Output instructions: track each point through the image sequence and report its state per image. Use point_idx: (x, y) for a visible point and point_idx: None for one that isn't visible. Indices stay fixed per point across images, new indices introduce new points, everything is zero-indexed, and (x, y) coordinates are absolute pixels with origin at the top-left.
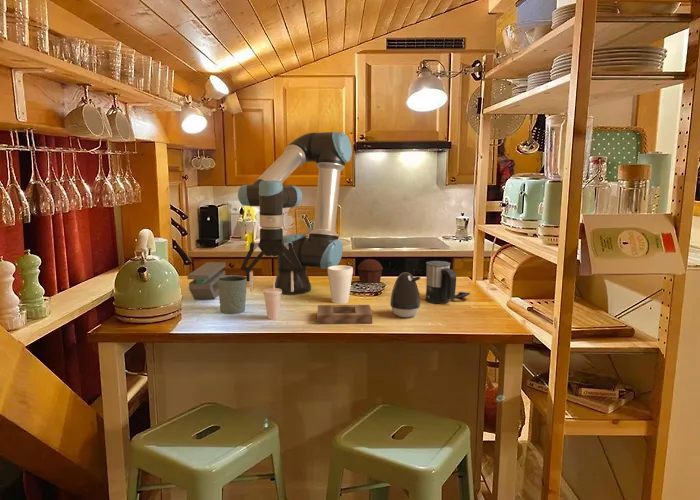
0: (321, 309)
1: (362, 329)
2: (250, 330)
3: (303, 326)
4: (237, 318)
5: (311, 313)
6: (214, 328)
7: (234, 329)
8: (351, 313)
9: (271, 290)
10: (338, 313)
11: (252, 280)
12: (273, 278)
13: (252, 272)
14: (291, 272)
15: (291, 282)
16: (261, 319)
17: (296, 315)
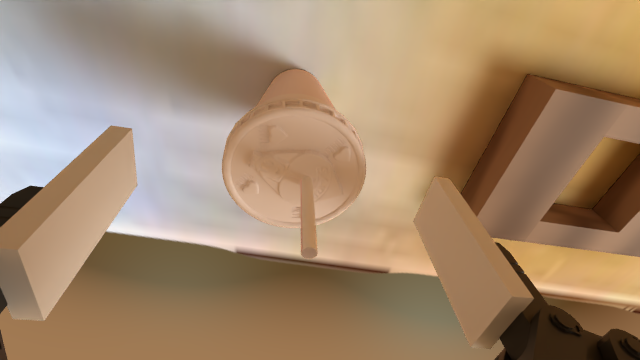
0: (527, 165)
1: (554, 270)
2: (201, 225)
3: (396, 220)
4: (103, 59)
5: (501, 61)
6: (43, 183)
7: (136, 206)
8: (599, 234)
9: (285, 192)
10: (555, 226)
11: (92, 212)
12: (303, 254)
13: (37, 269)
14: (476, 347)
15: (439, 269)
16: (237, 105)
17: (416, 78)
